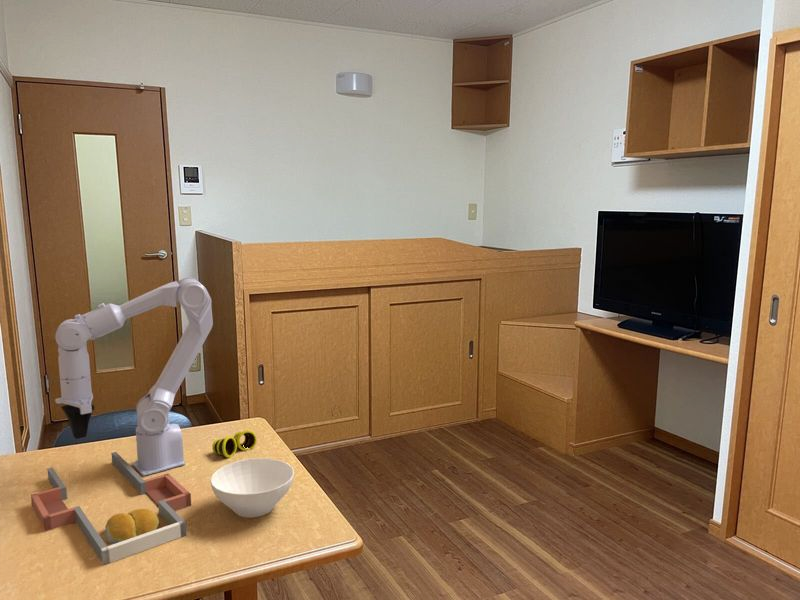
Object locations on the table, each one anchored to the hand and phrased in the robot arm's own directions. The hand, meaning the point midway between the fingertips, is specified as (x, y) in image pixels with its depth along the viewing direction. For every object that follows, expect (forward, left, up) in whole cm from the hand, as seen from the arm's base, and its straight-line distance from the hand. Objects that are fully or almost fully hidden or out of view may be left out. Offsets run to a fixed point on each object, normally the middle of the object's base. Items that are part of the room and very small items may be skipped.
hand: (80, 437), depth 129 cm
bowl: (-22, +36, -10) cm, 43 cm away
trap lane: (-1, +16, -9) cm, 19 cm away
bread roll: (-1, +29, -10) cm, 31 cm away
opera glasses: (-32, +8, -10) cm, 34 cm away
